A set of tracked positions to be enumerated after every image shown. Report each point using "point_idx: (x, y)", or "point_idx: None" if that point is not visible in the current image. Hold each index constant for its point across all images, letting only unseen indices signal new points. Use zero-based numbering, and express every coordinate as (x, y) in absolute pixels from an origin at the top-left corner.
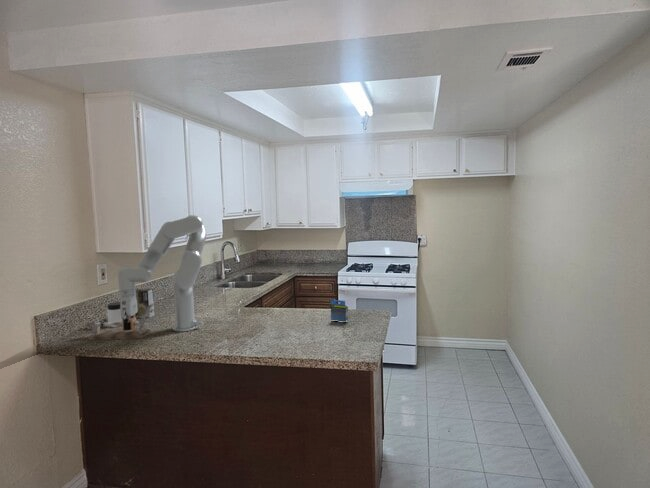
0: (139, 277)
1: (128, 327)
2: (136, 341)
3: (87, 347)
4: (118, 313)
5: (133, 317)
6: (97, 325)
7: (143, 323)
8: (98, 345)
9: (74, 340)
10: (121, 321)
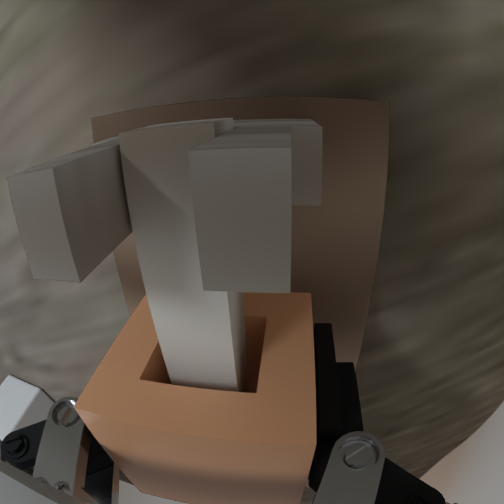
0: None
1: (338, 370)
2: (494, 146)
3: (469, 426)
4: None
5: (97, 438)
6: None
7: (245, 130)
8: (465, 401)
9: (308, 495)
10: (30, 410)
